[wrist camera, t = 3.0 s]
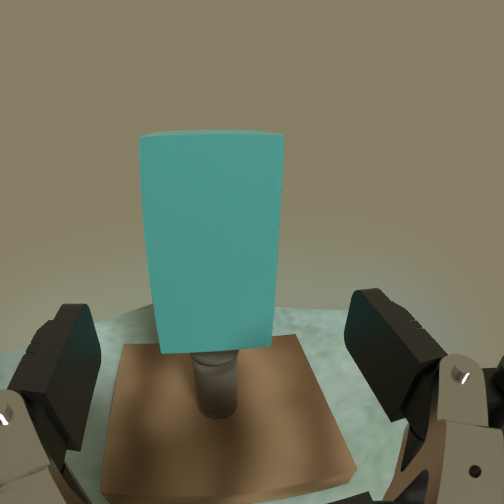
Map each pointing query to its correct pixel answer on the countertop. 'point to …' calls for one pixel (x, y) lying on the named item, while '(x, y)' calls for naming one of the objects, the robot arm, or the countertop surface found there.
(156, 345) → the post stand
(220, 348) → the tall teal pillar
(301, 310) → the countertop surface
